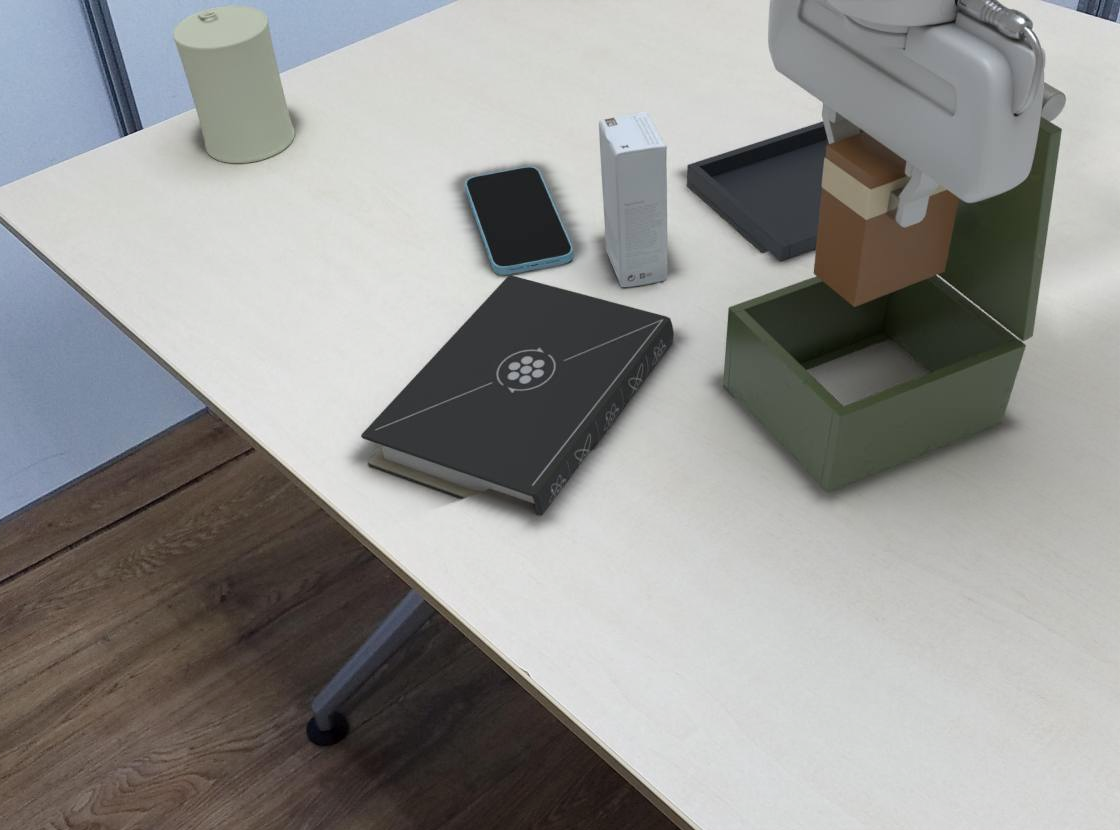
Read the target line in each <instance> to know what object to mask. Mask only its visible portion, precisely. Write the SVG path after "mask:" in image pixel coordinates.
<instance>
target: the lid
mask: <svg viewBox="0 0 1120 830" xmlns="http://www.w3.org/2000/svg"><path fill="white" fill-rule="evenodd" d="M1066 102H1067V98H1066V94H1065V93H1064V92H1062V91H1061V90H1059V89H1057V88H1056V87H1054V86H1052V85H1051V84H1049V83H1047V82H1045V81H1044V94H1043V102H1042V111H1041V118H1040V125H1039V132H1038V138H1037V143H1036V149H1035V154H1034V159H1033V163H1032V167H1031V170H1030V173H1029V175H1028V177H1027V178H1026V179H1025V180H1024V181H1023V182H1022V183H1020V184H1019V185H1018V186H1016V187H1014V188H1013V189H1011V190H1009V191H1006V192H1004V193H1002V194H999V195H997V196H994V197H991V198H988V199H985V200H982V201H979V202H974V203H967V202H965V201H963V200H961V199H960V198H959V202H958V207H957V212H956V217H955V222H954V227H953V232H952V237H951V242H950V247H949V252H948V257H947V262H946V267H945V271H944V272H943V273H940V274H937V276H938V277H939V278H941V279H942V280H943V281H944V282H946V283H947V284H948V285H950V286H951V287H952V288H953V289H955V290H956V291H957V292H958V293H960V294H961V295H962V296H964V297H965V298H966V299H967V300H969V301H970V302H971V303H973V304H974V305H975V306H976V307H978V308H979V309H980V310H981V311H983V312H984V313H985V314H987V315H988V316H989V317H990V318H992V319H993V320H994V321H996V322H997V323H998V324H999V325H1001V326H1002V327H1003V328H1004V329H1006V330H1007V331H1008V332H1010V333H1011V334H1012V335H1013V336H1015V337H1016V338H1017V339H1019V340H1020V341H1021V342H1025V341H1027V340H1029V339H1030V338H1032V337H1033V336H1034V330H1035V323H1036V317H1037V310H1038V301H1039V295H1040V289H1041V280H1042V274H1043V267H1044V259H1045V252H1046V245H1047V238H1048V230H1049V223H1050V218H1051V210H1052V202H1053V196H1054V188H1055V183H1056V182H1055V181H1056V174H1057V167H1058V161H1059V155H1060V154H1059V152H1060V145H1061V140H1062V139H1061V138H1062V133H1063V129H1062V128H1061V127H1060V126H1058V125H1056V124H1055V123H1053V122H1052V121H1054V120H1055V119H1056V118H1057V117H1058V116H1059V115H1060V114H1061V113H1062V111H1063V110H1064V108H1065V105H1066Z"/></svg>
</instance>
